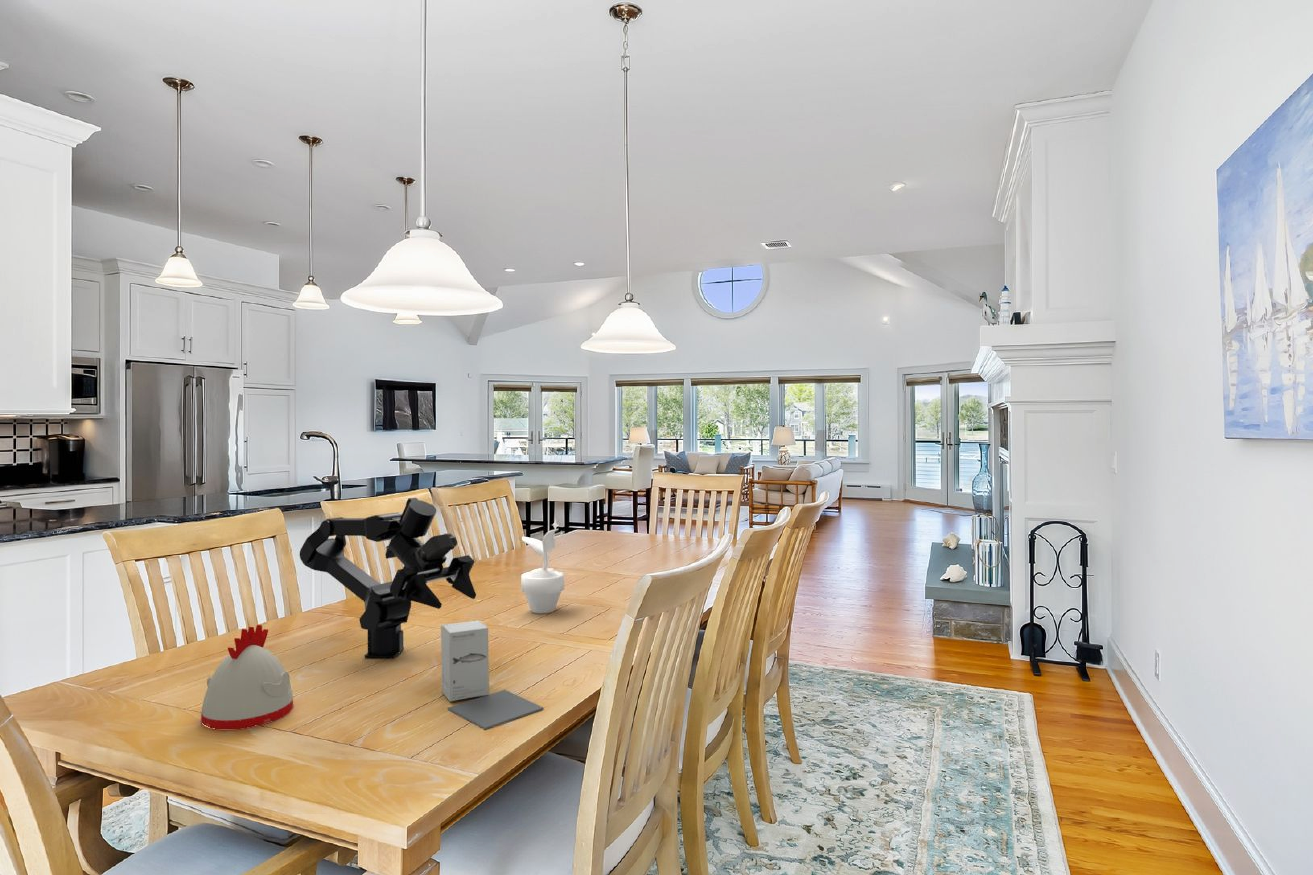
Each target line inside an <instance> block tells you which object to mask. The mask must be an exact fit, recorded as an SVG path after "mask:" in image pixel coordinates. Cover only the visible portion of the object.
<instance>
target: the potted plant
mask: <svg viewBox="0 0 1313 875" xmlns="http://www.w3.org/2000/svg"><path fill="white" fill-rule="evenodd" d="M551 526H553V528H554V529H551V530H549V531H547V532H546V533H545V534H544V535H543V536H542V537H543V538H542V541H541V540H540V539H537V538H534V537H528V536H521V537H522V538H521V541H522V542H524V543H525V544H526V545H528V546H530V547H531V548H532V550H534V552H535V553H536V554H537V555H539V556H543V557H542V567H539V568H535V569H532V570H531V571H526V572H525V573H523V574H522V573H521V578H520V579H521V582H520V583H521V586H520V587H521V592H522V593H524V594H525V598H526V600H527V604H528V606H529V610H530V612H532V613H534V614H541V615H543V614H550V613H552V612H554V611H555V610H556V608H557V605H558V601H559V599H560V596H561V592H562V591H564V590H565V574H564V572H562V571H557V570H554V568H553V567H548V566H549V558H550V556H549V553H551V552H552V551H553V550H554V548H555V544H556V538H557V537H556V536H555V533H556V532H558V531H559V528H557V527H558V526H560V524H558V523H557V519H556V518H555V519H554V523H553V524H551ZM559 535H560V537H561V538H562V536H563V535H564V533H563V531H562V530H560V533H559Z"/></svg>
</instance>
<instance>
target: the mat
mask: <svg viewBox="0 0 1313 875" xmlns="http://www.w3.org/2000/svg"><path fill="white" fill-rule="evenodd" d="M544 708H545V707H543V706H541V705H539V704H537V703H535V702H533V701H530V700H528V699H526V698H524V697H522V696H520V695H518V694H516V693H513V692H510V691H509V690H506V689H503V690H500V691H497V692H492V693H489V695H486V696H479V697H478V698H477V697H476V698H475V699H474V698H473V699H471V700H468V701H464V702H461V703H458V704H454V705H451V706H449V707H448V706H447V710H448V711H450V712H452V713H454V714H455V715H457V716H459V717H461V718H463V719H464V720H467V721H468V722H470V723H472V724H473V725H475V726H477V725H478V726H477V727H479V728H480V729H483V730H484V729H485V730H488V729H491V728H493V726H494V727H497V726H500V725H502V724H506V723H508V722H511V721H514V720H517V719H519V717H520V718H522V717H526V716H528V715H531V714H534V713H537V712H539V711H543V710H545V709H544ZM542 709H543V710H542ZM525 715H526V716H525ZM516 718H517V719H516ZM496 725H497V726H496Z"/></svg>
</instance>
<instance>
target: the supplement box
mask: <svg viewBox="0 0 1313 875" xmlns="http://www.w3.org/2000/svg"><path fill="white" fill-rule="evenodd" d="M440 650H441V652H440V653H441V654H440V656H441V692H443V694H444V696H445V697H446V699H448V701H449V702H450V703H452V702H454V701H460V700H466V699H470V698H471V699H472V698H477V697H478V698H479V697H483V696H486V695H490V681H489V680H490V679H489V678H490V674H489V673H490V672H489V670H490V669H489V668H490V667H489V627H487V625H485V624H484V623H483V622H482V621H481V620H471V621H462V622H454V623H445V624H441V625H440Z"/></svg>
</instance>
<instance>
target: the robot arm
mask: <svg viewBox="0 0 1313 875" xmlns="http://www.w3.org/2000/svg"><path fill="white" fill-rule="evenodd" d="M436 514H437V508H436V507H435V505H433V504H432V503H429V502H427V501H424V500H419V499H418V497H409V498H407V500H406V503H405V507H404V509H403V511H402V512H399V511H398V512H391V513H383V514H375V515H371V516H367V517H362V518H361V517H360V518H359V517H358V518H356V517H353V518H352V517H351V518H349V517H347V518H345V517H340V516H339V517H333V518H327V519H326V518H325V520H323V521H322V522H321V524H320V525H319V527H318V528H317V529H316V530H315V531H314V532H312V533H311V534H310V535H309V536H307V537H306V539H305V540H304V543H303V544H302V546H301V548H300V551H299V558H300V561H301V562H302V564H303V565H304V566H305V567H307V568H309V569H311V570H313V571H317V572H322V573H323V572H324V573H327V574H329V575H330V576H331V577H332V578H334V579H335V580H336V581H338V583H340V584H341V585H342V586H343V587H345V588H347V589H348V590H349V591H350V592H351V593H353V595H355V596H356V597H357V598H359V599H360V600H361V601H363V602H364V612H363V613H362V614H361V616H360V617H359V624H360V628H361V629H362V630H366V631H367V653H365V654H364V659H365V658H368V659H369V658H375V659H376V658H377V659H378V658H385V659H386V658H387V659H388V658H396V657H397V656H398V655H399V654H401V652H402V651H403V650H404V649H405V647H404V630H402V624H406V623H407V622H408V619H409V616H410V612H411V608H412V602H415V603H418V604H422V605H426V606H427V607H428V606H429V607H432V608H435V609H437V610H439V609H441V608H442V602H441V601H440V599H439V598H438V597H437V595H436V594H435V593H434V592H433V591H432V589H431V588H430V587H429V585H428V584H427V583H432V582H436V581H440V580H446V582H447V583H448V584H451V588H453V589H455V590H456V591H458V592H460V593H461V594H462V595H464V596H466V597H468V598H470V599H472V600H474V599H476V596H477V593H476V590H475V588H474V585H473V583H472V580H471V577H470V572H471V571H472V568H473V566H474V564H475V560H474V559H473V558H472V556H470V554H468V555H466V554H465V555H462V556H456V557H452V559H451V561H450V563H449V565H448V566H446V567H445V566H444V565H443V564H444V563H446V561H447V559H448V558H447V557H446V555H447V554H448V553H450V552H451V551H452V550H454V549H455V547H457V545H458V540H457V538H456V536H454V535H453V534H452V533H451V532H447V533H444V534H438V535H434V536H431V537H429V539H427V541H426V542H422V541H421V540H420V539H419V538H421V537H424V536H427V533H428V531H429V529H430V527H431V525H432V522H433V520H434V518H435V516H436ZM348 536H350V537H351V536H353V537H355V536H356V537H358V536H359V537H360V536H361V537H365V538H366V539H367V540H370V541H373V542H378V543H379V542H387V541H389V543H388V545H386V550H385V551H386V552H385V558H386V559H392V558H397V559H398V560H399V561H400V563H401V564H402V565H403V567H402V568H399V569H397V571H396V573H395V575H394V578H392V579H393V580H392V581H388V582H383V583H380V582H379V581H377V579H374V578H373V577H372V576H370V575H369V574H368V573H367V572H366V571H364V570H363V569H361V568H360V567H359V566H357V565H356V564H355V563H353V562H352V561H351V560H350V559H348V557H346V556H345V547H346V545H347V540H346V537H348ZM330 537H335V538H330Z"/></svg>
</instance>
